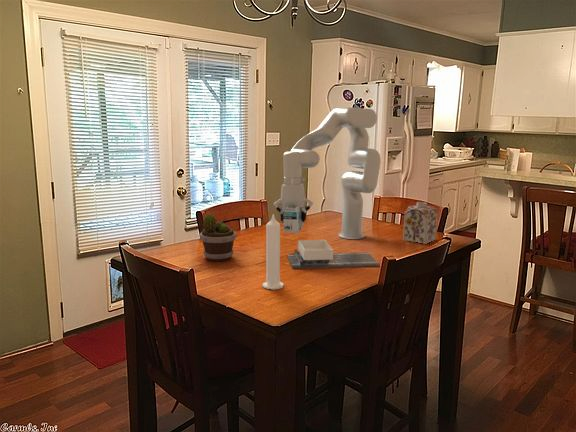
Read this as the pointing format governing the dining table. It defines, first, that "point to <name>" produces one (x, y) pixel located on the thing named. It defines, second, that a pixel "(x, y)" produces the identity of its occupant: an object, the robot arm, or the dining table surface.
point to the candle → (273, 255)
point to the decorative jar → (420, 223)
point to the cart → (315, 250)
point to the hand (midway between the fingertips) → (293, 221)
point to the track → (334, 261)
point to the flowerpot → (217, 239)
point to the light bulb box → (292, 219)
